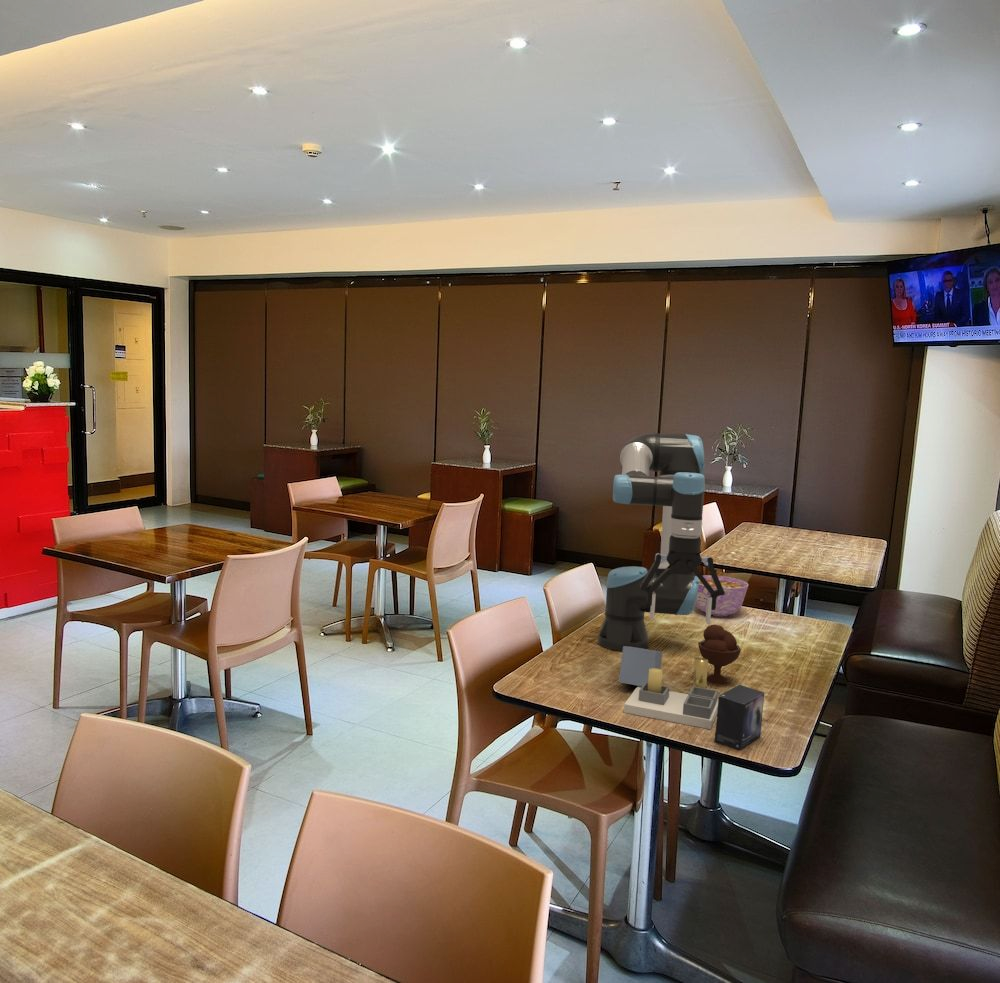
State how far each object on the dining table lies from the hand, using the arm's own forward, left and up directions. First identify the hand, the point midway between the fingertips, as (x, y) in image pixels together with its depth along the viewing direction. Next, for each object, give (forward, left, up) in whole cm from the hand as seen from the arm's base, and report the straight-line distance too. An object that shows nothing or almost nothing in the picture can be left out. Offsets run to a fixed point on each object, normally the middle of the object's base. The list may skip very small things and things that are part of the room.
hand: (679, 620), depth 195 cm
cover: (-9, 0, -18) cm, 20 cm away
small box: (+17, -19, -20) cm, 33 cm away
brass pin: (+6, +1, -19) cm, 20 cm away
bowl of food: (-2, +87, -20) cm, 89 cm away
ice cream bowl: (+8, +17, -20) cm, 27 cm away
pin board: (+1, -10, -19) cm, 22 cm away
